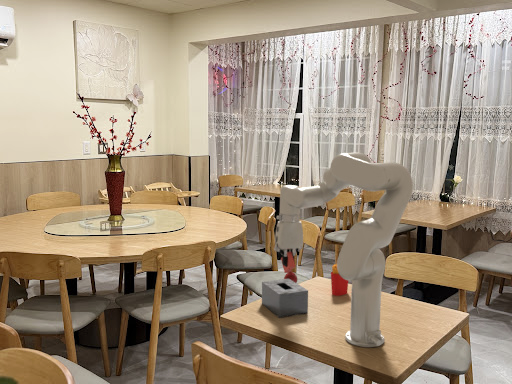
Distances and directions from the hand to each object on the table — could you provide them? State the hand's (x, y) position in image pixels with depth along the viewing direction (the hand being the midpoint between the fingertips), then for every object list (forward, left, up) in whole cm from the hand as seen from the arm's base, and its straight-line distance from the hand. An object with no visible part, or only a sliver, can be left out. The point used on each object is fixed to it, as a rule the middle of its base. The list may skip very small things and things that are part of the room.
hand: (287, 265), depth 188 cm
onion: (+24, -14, -18) cm, 33 cm away
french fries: (+9, -30, -18) cm, 36 cm away
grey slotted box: (+2, 0, -18) cm, 18 cm away
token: (+2, 0, -1) cm, 2 cm away
